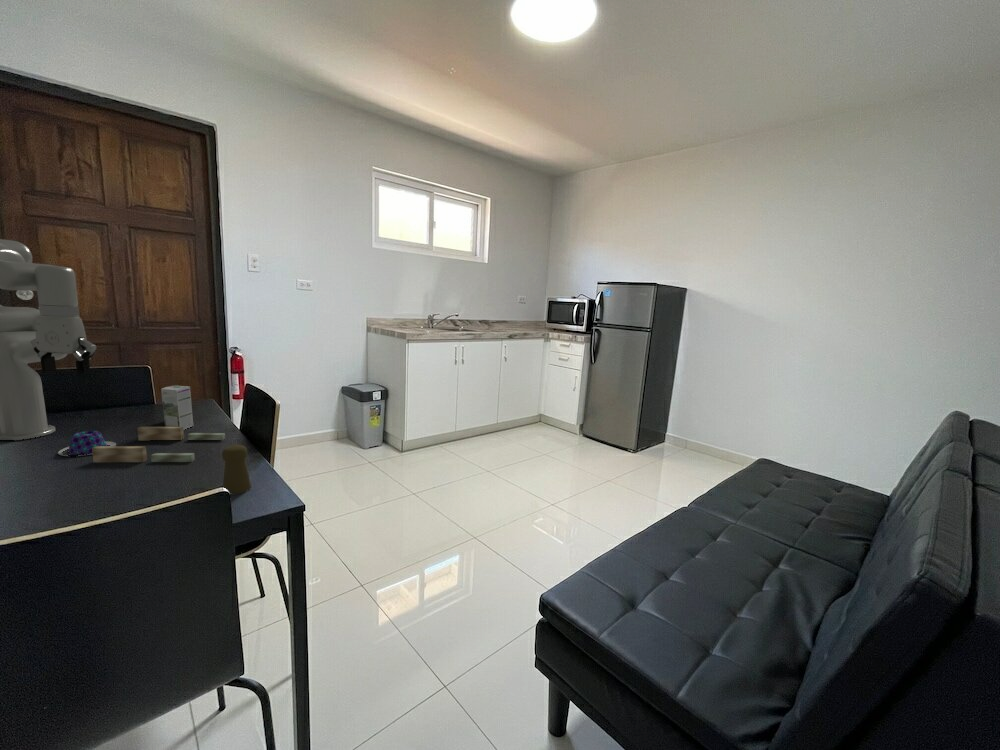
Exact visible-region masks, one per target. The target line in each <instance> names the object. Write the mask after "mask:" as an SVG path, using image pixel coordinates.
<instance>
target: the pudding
mask: <svg viewBox="0 0 1000 750" xmlns="http://www.w3.org/2000/svg"><path fill="white" fill-rule="evenodd" d="M107 445H110V446H117V443H116V442H113V441H107V440H105V439H104V436H103V435H102V432H100V431H97V430H86V431H81V432H80V431H79V432H77V433H75V434H73V435H72V436H71V438H70V443H69V446H67V447H64V448H62V449H60V450H59V451H58V452H57V454H58V455H60V456H64V457H69V456H68V455H63V453H62V452H63V451H65V450H67V449H69V451H68V452H70V453H69V455H70V454H76V455H77V454H84V455H86V454H87V455H86V456H89V455H91V454H92V448H93V447H96V446H107ZM88 453H89V454H88ZM82 456H83V455H78V456H77V457H82Z"/></svg>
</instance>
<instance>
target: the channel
mask: <svg viewBox="0 0 1000 750" xmlns="http://www.w3.org/2000/svg"><path fill="white" fill-rule="evenodd" d="M136 429H137V438H138V441H150V440H182V439H183V440H185V432H184V431H185V430H183V427H165V426H139V427H137V428H136ZM224 439H225V440H226V433H225V432H223V433H222V432H218V433H217V432H215V433H214V432H210V433H209V432H190V433H188V434H187V440H223V441H225V440H224ZM183 440H182V441H183ZM91 455H92V460H93V463H145V462H147V461H148V454H147V446H145V445H143V446H140V445H138V446H137V445H135V446H134V445H133V446H131V445H130V446H129V445H128V446H127V445H126V446H125V445H122V446H121V445H120V446H117V445H116V446H96V447H93V448H92V453H91ZM150 458H151V463H193V462H194V461H196V458H195V452H168V453H167V452H155V453H153V454H151V455H150Z"/></svg>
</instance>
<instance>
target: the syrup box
mask: <svg viewBox="0 0 1000 750" xmlns="http://www.w3.org/2000/svg"><path fill="white" fill-rule="evenodd" d="M160 390H161V391H160V392H161V402H162V409H163V410H162V412H163V421H164V423H163V424H164V427H183V431H185V429H186V430H188V429H187V428H189V429H191V428H190V427H192V426H193V427H194V420H193V418H194V416H193V408H192V407H193V406H192V396H191V395H192V394H191V386H186V385H185V386H184V385H169V386H165V387H163V388H162V387H161V389H160ZM193 427H192V428H193Z"/></svg>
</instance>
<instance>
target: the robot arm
mask: <svg viewBox="0 0 1000 750" xmlns="http://www.w3.org/2000/svg"><path fill="white" fill-rule="evenodd" d="M76 281H77V279H76V272H75V271H74V269H73V268H71V267H67V266H60V265H54V264H46V263H34V262H33V254H32V252H31V250H30V249H29V247H28V246H27V245H25V244H24V243H23V242H20V241H17V240H12V239H11V240H10V239H1V238H0V290H5V291H27V292H28V291H29V292H30V291H31V292H32V291H34V292H36V293H37V302H38V307H37V308H35V307H28V306H4V305H2V304H0V440H14V441H22V440H23V439H24V440H29V439H30V438H31V439H35V437H36V438H40V436H41V437H43V436H47V435H50V434H53V433H54V432H56V426H54V425H51V424H48V418H47V411H46V403H45V398H44V397H45V396H44V392H43V391H44V390H43V384H42V378H41V376H40V375H39V373H38V372H37V371H36V370H35V369H33V368H31V366H29V365H28V364H34V363H40V364H41V365H40V366H41V372H43V373H48V372H52V371H53V372H54V371H56V370H57V364H56V361H58V360H62V359H64V358H66V357H67V356H68V355H71V354H72V355H73V356H74V357H75V358H76V359H77V360H75V365H76V366H75V368H76V374H77V375H78V376H79V375H87V374H90V373H91V367H90V360H91V359H92V357H93V356H94V355H95V353H96V352H95V351H96V350H97V345H96V344H94V343H92V342H91V341H89V340H87V334H86V333H87V332H86V330H85V325H84V322H83V319H82V318H81V317H80V309H79V301H78V298H79V297H78V290H77V289H78V288H77V282H76ZM31 439H30V440H31Z"/></svg>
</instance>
